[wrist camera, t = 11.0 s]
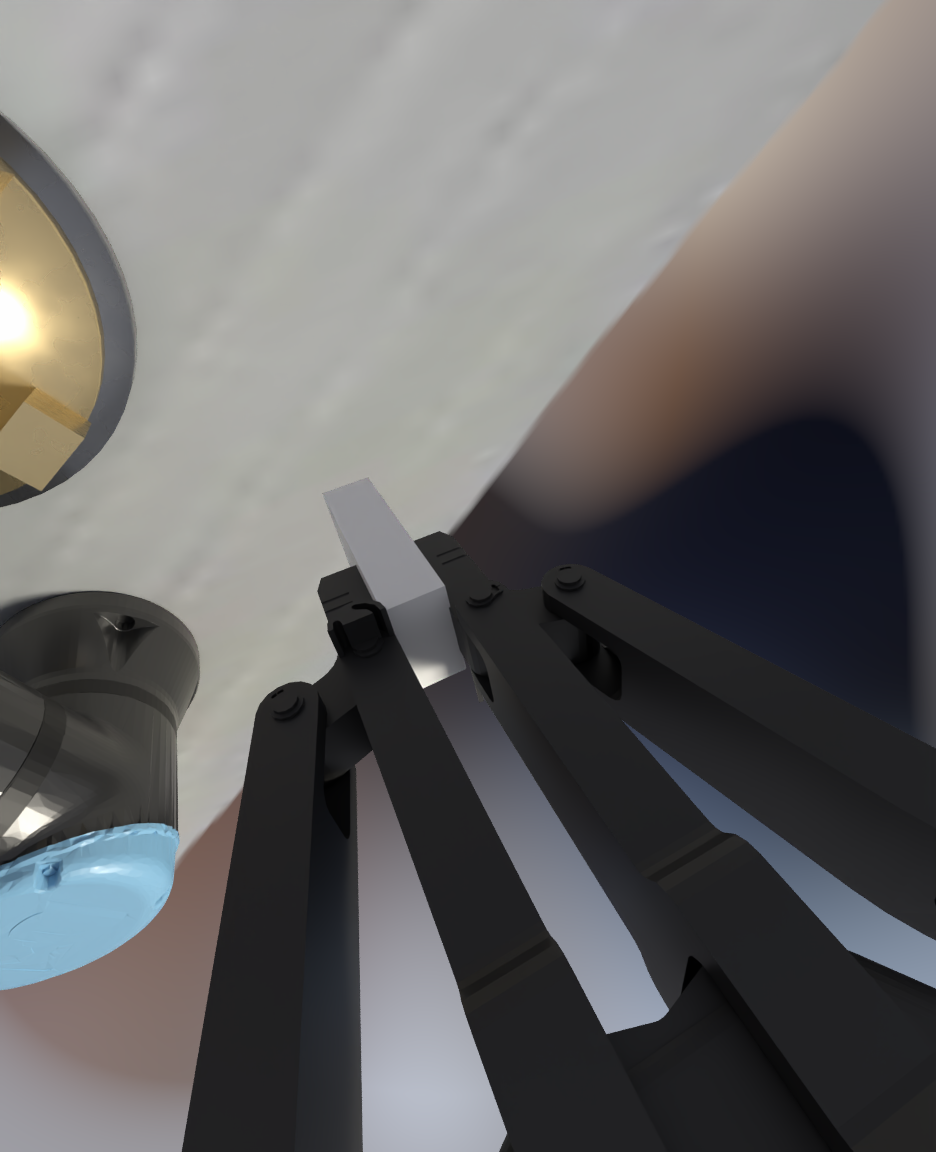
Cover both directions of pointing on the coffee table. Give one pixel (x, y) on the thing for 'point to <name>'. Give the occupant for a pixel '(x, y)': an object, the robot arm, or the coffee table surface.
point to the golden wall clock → (42, 340)
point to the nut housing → (107, 285)
